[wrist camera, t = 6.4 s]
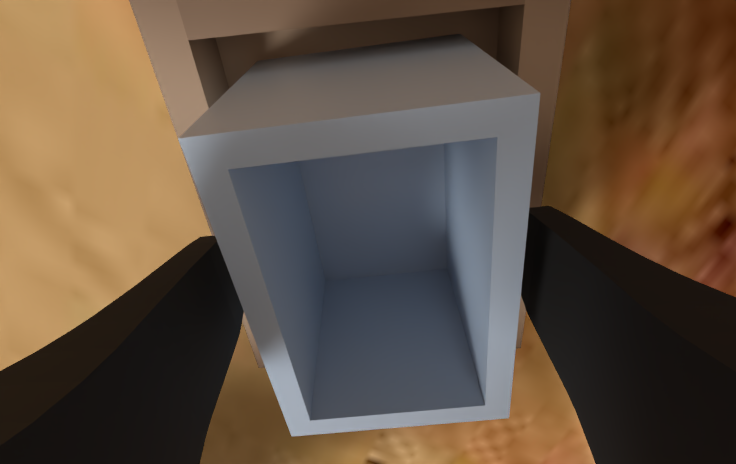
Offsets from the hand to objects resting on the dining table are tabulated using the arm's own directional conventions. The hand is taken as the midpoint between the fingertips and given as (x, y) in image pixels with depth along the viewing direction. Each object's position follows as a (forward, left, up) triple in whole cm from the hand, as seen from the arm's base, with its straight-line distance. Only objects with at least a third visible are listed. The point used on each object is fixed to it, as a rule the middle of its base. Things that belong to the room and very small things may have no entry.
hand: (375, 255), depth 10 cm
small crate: (0, 0, -4) cm, 4 cm away
